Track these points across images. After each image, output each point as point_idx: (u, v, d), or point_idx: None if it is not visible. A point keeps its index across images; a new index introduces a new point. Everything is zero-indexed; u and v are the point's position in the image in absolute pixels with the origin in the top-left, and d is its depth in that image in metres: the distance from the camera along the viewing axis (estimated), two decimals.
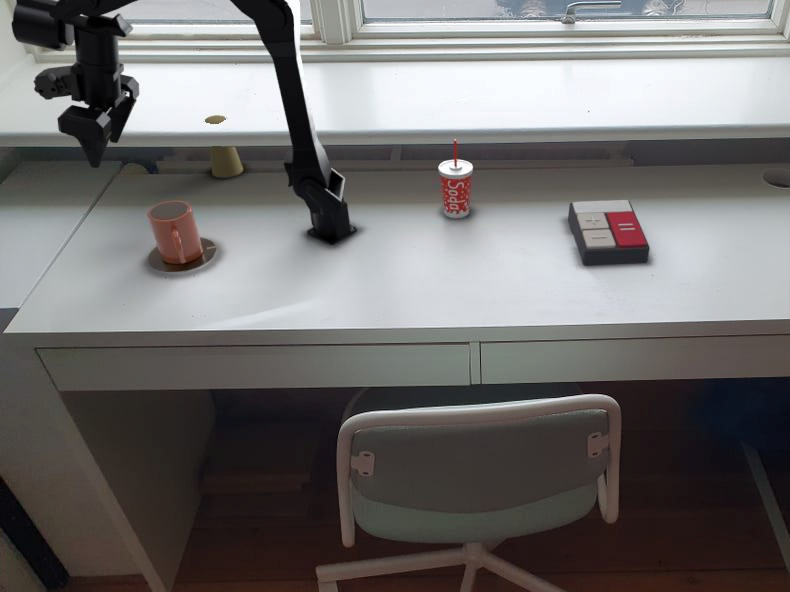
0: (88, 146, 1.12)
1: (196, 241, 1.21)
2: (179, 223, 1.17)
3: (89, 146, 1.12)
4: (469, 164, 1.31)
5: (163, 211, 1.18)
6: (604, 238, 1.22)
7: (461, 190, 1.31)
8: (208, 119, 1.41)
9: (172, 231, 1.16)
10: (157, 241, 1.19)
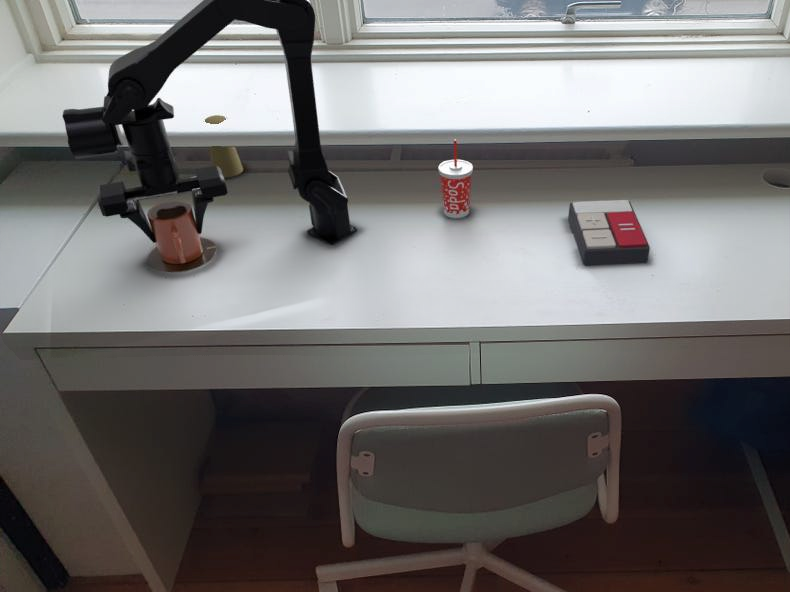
0: None
1: (196, 241, 1.21)
2: (179, 223, 1.17)
3: None
4: (469, 164, 1.31)
5: (163, 211, 1.18)
6: (604, 238, 1.22)
7: (461, 190, 1.31)
8: (208, 119, 1.41)
9: (172, 231, 1.16)
10: (157, 241, 1.19)
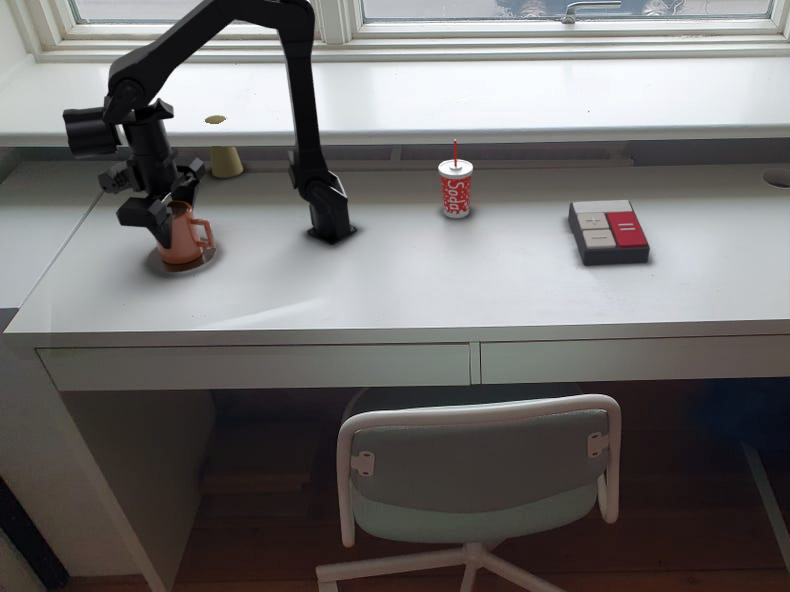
0: (155, 230, 1.15)
1: None
2: (192, 213, 1.19)
3: (156, 230, 1.15)
4: (469, 164, 1.31)
5: None
6: (604, 238, 1.22)
7: (461, 190, 1.31)
8: (208, 119, 1.41)
9: (196, 220, 1.19)
10: (176, 243, 1.19)
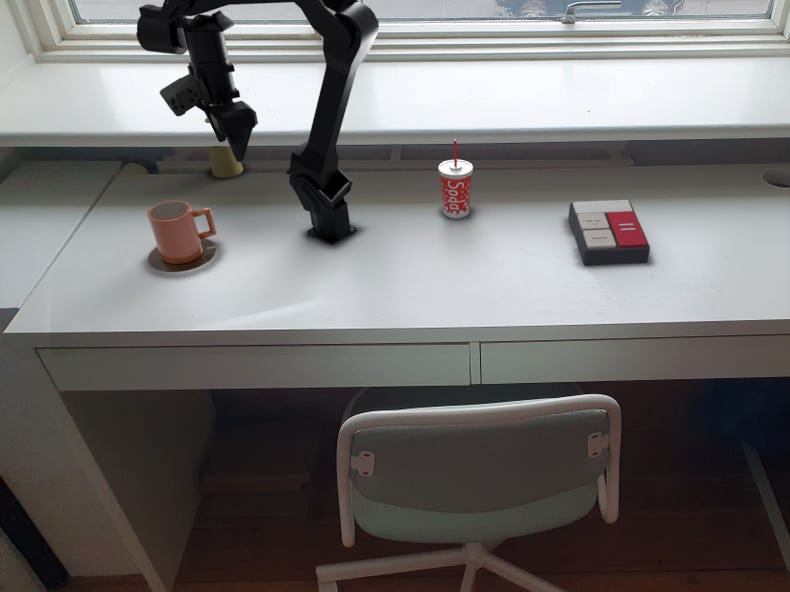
0: (235, 141, 1.19)
1: None
2: None
3: (236, 140, 1.19)
4: (469, 164, 1.31)
5: (170, 212, 1.18)
6: (605, 238, 1.22)
7: (461, 190, 1.31)
8: None
9: (199, 211, 1.21)
10: (190, 239, 1.20)
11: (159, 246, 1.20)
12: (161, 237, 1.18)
